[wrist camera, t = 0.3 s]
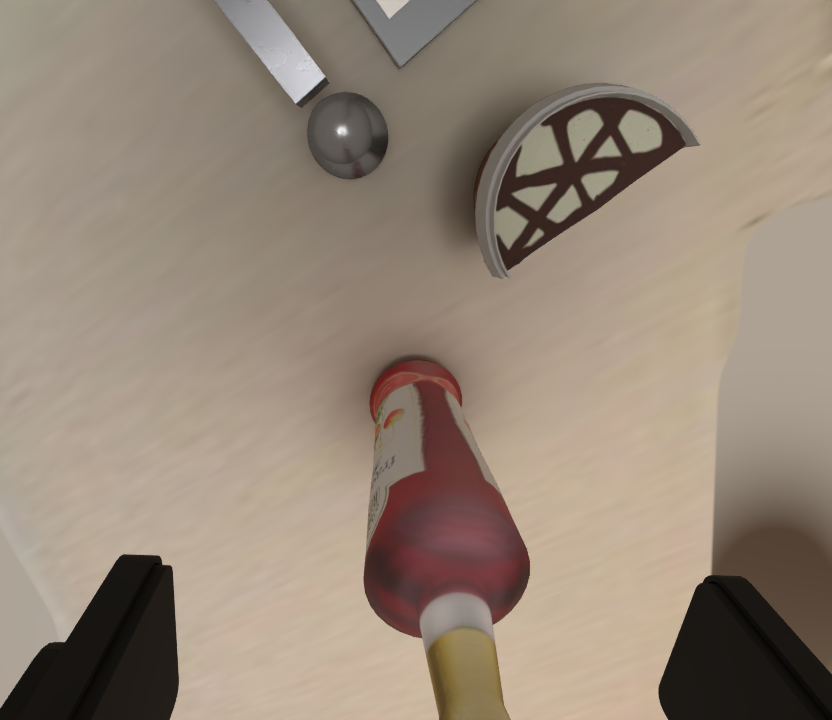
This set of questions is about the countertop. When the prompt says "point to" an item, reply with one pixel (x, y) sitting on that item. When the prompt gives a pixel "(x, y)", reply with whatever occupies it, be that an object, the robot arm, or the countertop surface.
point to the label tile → (409, 22)
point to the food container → (568, 165)
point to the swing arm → (276, 47)
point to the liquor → (440, 538)
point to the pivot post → (347, 135)
